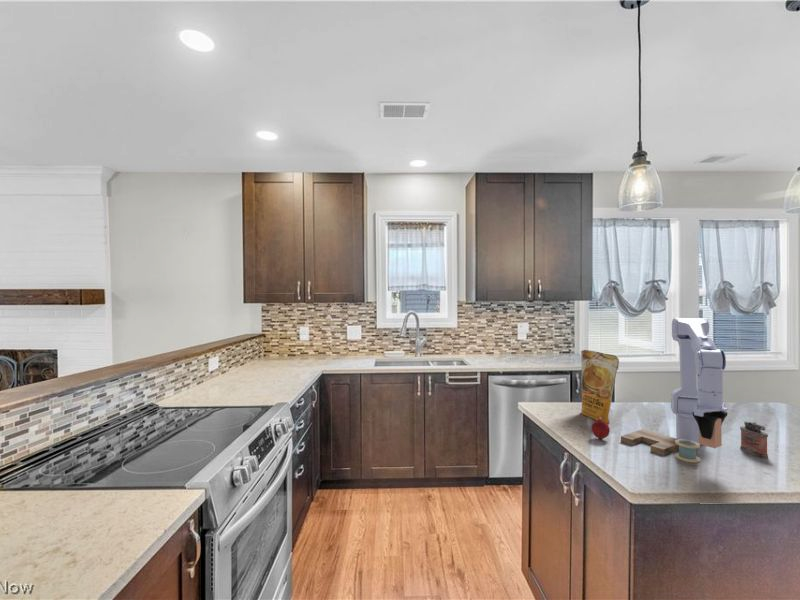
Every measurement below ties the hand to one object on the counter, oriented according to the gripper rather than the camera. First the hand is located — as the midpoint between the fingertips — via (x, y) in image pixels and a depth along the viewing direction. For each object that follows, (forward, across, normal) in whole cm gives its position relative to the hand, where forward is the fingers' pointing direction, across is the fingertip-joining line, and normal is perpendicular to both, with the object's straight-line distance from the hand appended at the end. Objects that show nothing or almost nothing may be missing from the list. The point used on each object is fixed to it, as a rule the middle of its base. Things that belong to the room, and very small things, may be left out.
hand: (710, 436), depth 114 cm
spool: (+10, +5, +8) cm, 14 cm away
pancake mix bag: (+11, +18, +48) cm, 52 cm away
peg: (+2, 0, 0) cm, 2 cm away
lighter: (+11, +28, -1) cm, 30 cm away
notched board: (+10, +8, +20) cm, 24 cm away
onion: (+11, -4, +32) cm, 34 cm away
